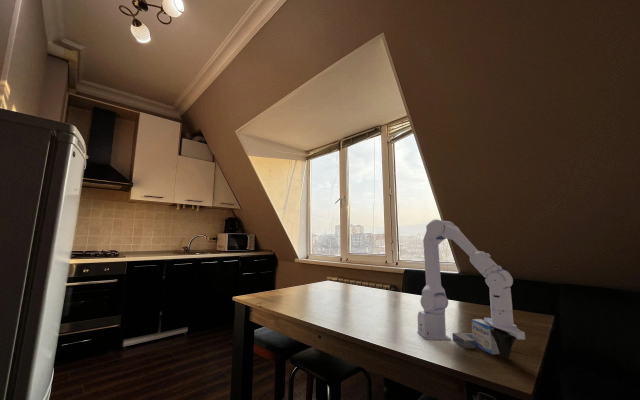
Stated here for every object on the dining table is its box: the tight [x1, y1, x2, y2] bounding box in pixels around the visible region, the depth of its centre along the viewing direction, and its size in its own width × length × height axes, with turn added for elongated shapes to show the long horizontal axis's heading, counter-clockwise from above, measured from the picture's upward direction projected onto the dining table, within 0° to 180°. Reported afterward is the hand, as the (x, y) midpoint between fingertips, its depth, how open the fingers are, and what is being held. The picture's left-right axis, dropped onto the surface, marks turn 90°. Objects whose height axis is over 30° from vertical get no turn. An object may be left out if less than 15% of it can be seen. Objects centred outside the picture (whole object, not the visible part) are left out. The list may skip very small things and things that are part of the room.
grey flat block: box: [452, 332, 476, 349], centre depth 92 cm, size 15×7×2 cm, turn 93°
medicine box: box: [471, 318, 500, 355], centre depth 89 cm, size 8×4×9 cm, turn 13°
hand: (504, 356), depth 80 cm, fingers closed
